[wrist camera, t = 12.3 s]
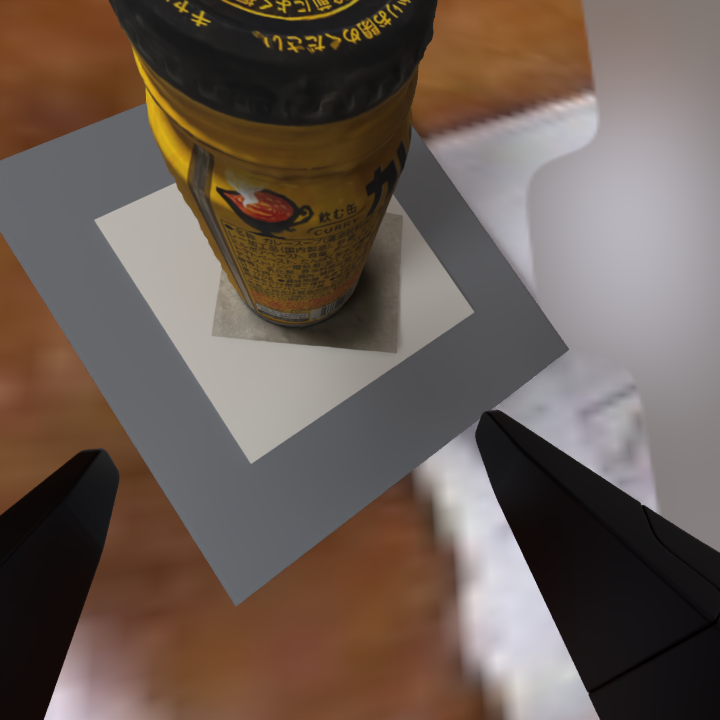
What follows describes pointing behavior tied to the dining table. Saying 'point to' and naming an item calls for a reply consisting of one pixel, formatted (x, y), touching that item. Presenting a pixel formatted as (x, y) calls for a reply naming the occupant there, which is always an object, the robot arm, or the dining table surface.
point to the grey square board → (262, 346)
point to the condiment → (289, 153)
